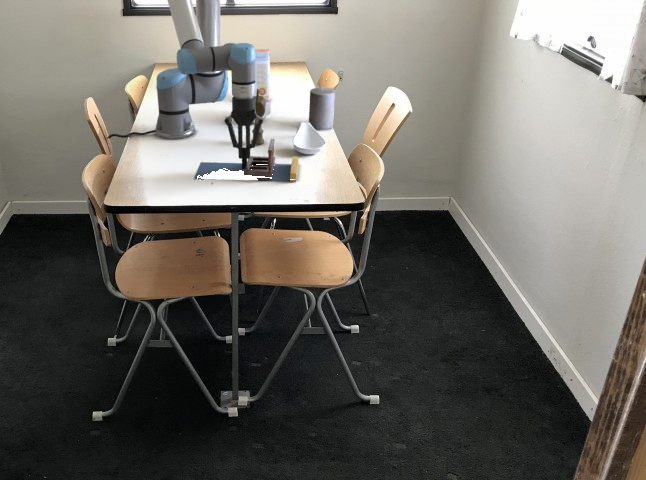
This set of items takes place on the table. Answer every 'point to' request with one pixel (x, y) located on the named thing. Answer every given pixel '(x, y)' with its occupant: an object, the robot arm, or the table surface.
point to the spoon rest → (308, 139)
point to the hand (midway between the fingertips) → (244, 167)
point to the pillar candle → (321, 108)
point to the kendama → (260, 112)
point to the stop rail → (294, 169)
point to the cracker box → (262, 72)
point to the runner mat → (279, 173)
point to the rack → (262, 160)
